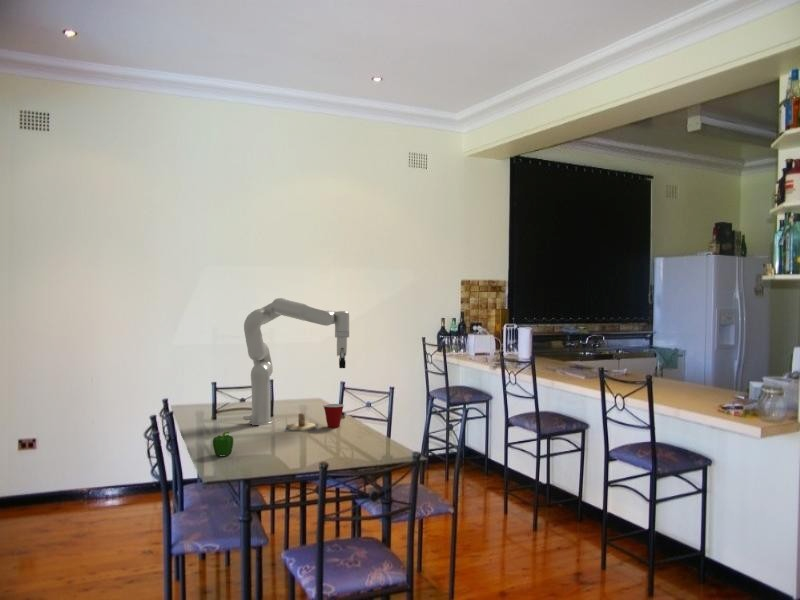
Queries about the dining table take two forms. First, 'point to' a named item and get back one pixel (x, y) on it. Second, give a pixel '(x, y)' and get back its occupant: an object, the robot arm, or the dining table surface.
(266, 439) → the dining table surface
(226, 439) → the bell pepper
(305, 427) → the lid
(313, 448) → the dining table surface
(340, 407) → the plastic cup
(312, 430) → the mat
